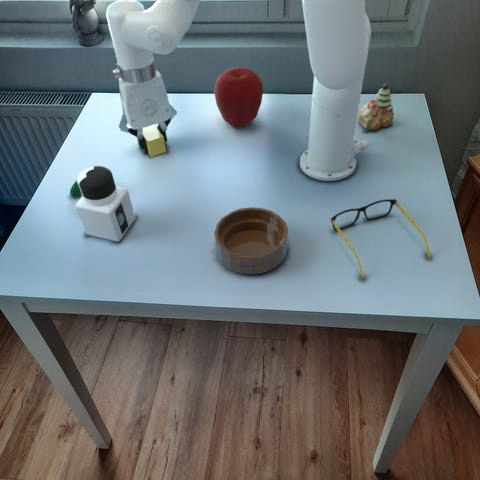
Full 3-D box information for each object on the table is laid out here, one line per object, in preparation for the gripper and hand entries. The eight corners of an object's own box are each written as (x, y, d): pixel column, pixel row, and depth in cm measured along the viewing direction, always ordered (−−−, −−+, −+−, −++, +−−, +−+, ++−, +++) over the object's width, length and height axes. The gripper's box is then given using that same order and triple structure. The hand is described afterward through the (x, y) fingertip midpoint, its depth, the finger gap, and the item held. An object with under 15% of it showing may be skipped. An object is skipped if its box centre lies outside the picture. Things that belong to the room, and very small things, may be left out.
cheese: (157, 139, 116) (154, 124, 113) (166, 151, 113) (163, 136, 110) (142, 144, 115) (138, 129, 112) (150, 156, 112) (147, 141, 109)
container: (136, 218, 99) (121, 164, 88) (119, 243, 94) (101, 189, 84) (104, 211, 101) (85, 158, 90) (85, 235, 96) (64, 182, 86)
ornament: (368, 135, 113) (376, 94, 105) (353, 123, 117) (359, 82, 109) (394, 125, 115) (404, 84, 107) (379, 114, 119) (387, 73, 111)
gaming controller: (112, 208, 104) (118, 181, 103) (102, 205, 100) (108, 177, 99) (78, 198, 106) (84, 171, 105) (67, 195, 103) (73, 167, 102)
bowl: (265, 218, 97) (265, 199, 93) (300, 259, 90) (301, 240, 86) (205, 241, 94) (203, 222, 90) (236, 286, 86) (235, 267, 82)
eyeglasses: (389, 211, 97) (393, 195, 94) (430, 258, 88) (436, 242, 85) (326, 229, 94) (328, 214, 91) (362, 279, 86) (366, 264, 83)
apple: (263, 135, 115) (263, 80, 105) (216, 136, 116) (211, 82, 105) (262, 109, 122) (262, 55, 112) (218, 110, 123) (213, 57, 112)
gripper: (105, 88, 95) (126, 166, 110) (181, 67, 99) (191, 145, 114) (94, 73, 99) (116, 150, 114) (167, 53, 103) (179, 130, 118)
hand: (154, 146), depth 114 cm, fingers closed on cheese, 4 cm apart
